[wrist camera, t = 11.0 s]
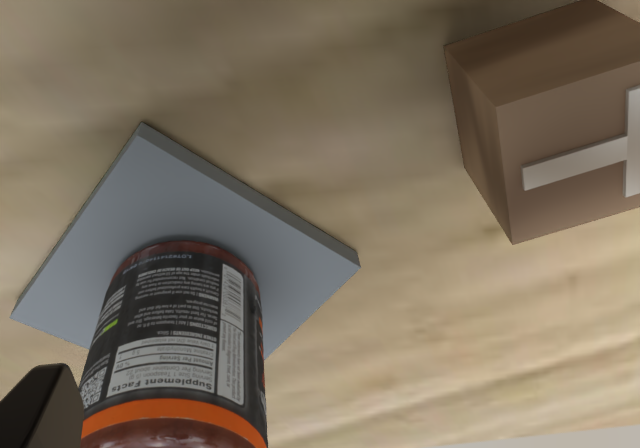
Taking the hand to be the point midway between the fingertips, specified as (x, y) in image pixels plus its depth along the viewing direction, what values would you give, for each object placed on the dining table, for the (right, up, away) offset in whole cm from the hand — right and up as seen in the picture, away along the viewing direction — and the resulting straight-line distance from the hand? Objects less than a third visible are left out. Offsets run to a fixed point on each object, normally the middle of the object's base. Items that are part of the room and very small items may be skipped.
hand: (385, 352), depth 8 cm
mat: (-6, 0, +15) cm, 17 cm away
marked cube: (+6, +7, +12) cm, 15 cm away
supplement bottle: (-6, -1, +15) cm, 16 cm away
